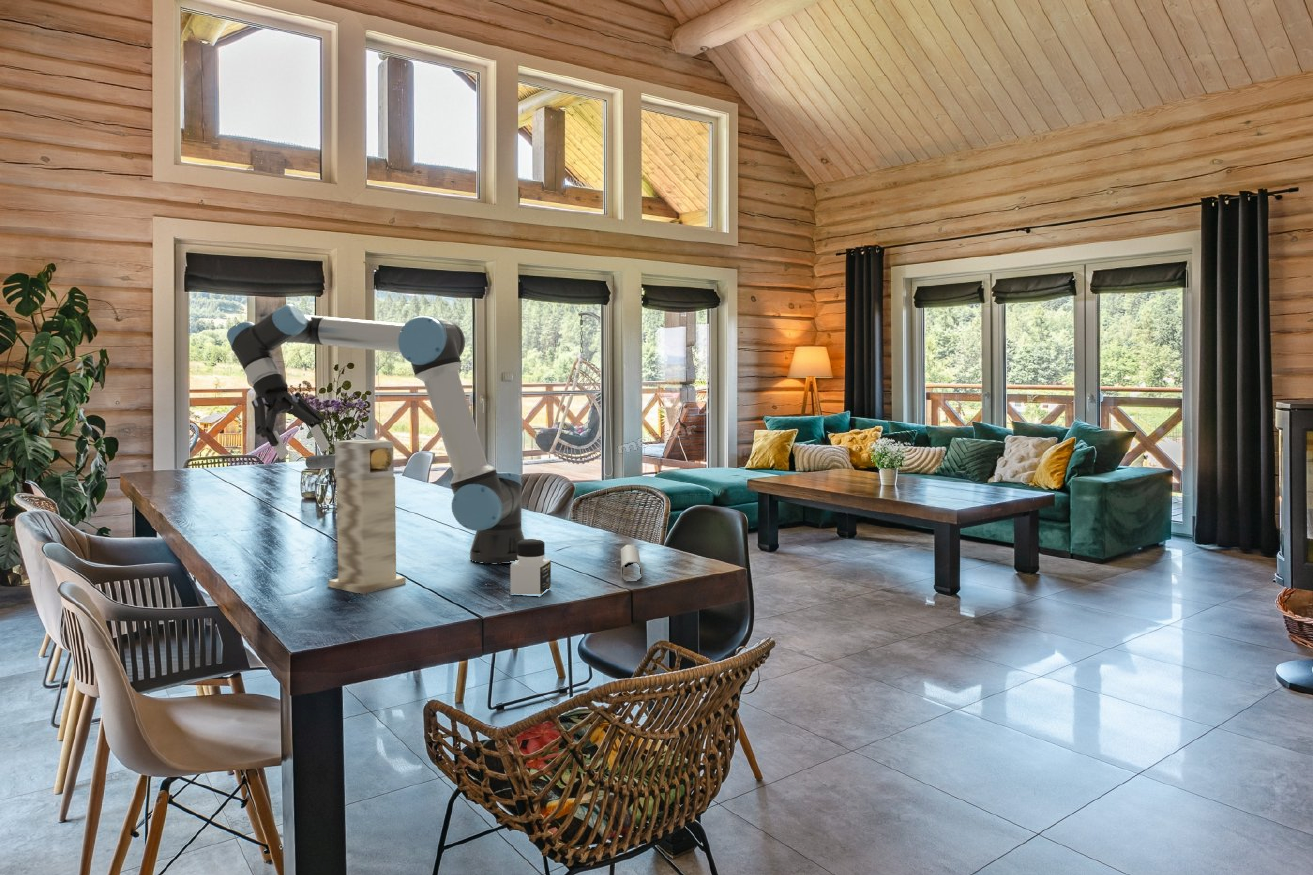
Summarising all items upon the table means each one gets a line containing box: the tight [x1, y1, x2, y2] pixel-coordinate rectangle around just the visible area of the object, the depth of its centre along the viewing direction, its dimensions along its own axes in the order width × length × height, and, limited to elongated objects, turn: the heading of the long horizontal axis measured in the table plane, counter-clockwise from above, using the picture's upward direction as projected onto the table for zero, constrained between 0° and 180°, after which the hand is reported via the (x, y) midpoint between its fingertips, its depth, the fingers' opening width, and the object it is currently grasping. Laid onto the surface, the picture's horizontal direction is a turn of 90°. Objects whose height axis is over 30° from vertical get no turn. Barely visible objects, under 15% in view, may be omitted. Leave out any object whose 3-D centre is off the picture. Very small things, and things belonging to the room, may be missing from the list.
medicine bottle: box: [509, 538, 552, 594], centre depth 197 cm, size 7×7×12 cm
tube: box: [620, 544, 643, 577], centre depth 221 cm, size 5×5×25 cm
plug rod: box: [305, 449, 392, 470], centre depth 204 cm, size 26×4×4 cm, turn 57°
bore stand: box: [327, 438, 407, 595], centre depth 201 cm, size 12×12×33 cm
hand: (305, 452), depth 220 cm, fingers open, 13 cm apart
